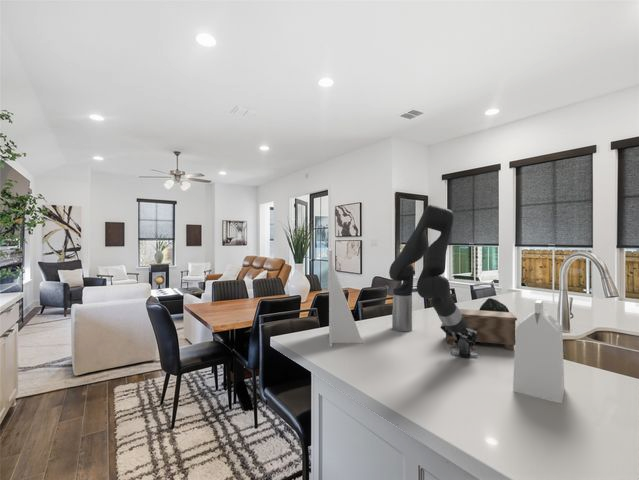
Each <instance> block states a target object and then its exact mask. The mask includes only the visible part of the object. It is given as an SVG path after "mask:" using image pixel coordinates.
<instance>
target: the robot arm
mask: <svg viewBox="0 0 639 480" xmlns="http://www.w3.org/2000/svg"><path fill="white" fill-rule="evenodd" d="M453 223H454V212H453V211H452V210H451V209H448V208H446V207H441V206H439V205H436V204H435V205H434V204H429V205H427V206H426V207H425V209H424V211H423V212H422V215H421V217H420V218H419V221H418V223H417V225H416V226H415V228H414V230H413V231H412V234H411V235H410V236H409V238H408V239H407V241H406V243H405V244H404V246H403V248H402V250H401V251H400V253H399V254H398V256H396V258H395V259H394V260H393V262H391V265H390V267H389V272H388V273H389V278H390V279H391V280H392V281H395V282H402V283H401V284H400V285H398V286H396V287H394V288H393V289H392V310H391V311H392V312H391V316H392V317H391V319H392V321H391V324H392V325H391V327H392V330H394V331H397V332H410V331H412V330H413V290H414V277H415V276H414V272H415V271H414V265H413V264H415V263H416V262H418V261H420V260H421V259H423V257H424V266H423V268H422V271H421V273H420V275H419V277H418V278H417V282H416V291H417V294H418V295H419V297H420V298H423V299H431V305H432V307H433V310H434V311H435V313H436V315H437V316H438V318H439V320H440V321H441V325H440V329H441V330H442V332H444V333H445V335H446V334H447V335H448V336H450V337H452V336H453V338H455V341H456V342H457V343H458V344H459V335H461V336H462V337H463V338H464V339H466V340H467V341H468V343H469V344H470V347H475V345H476V342H477V341H476V339H477V333H478V330H477V329H474V330H472V329H469V327H468V326H467V325H466V321H465V319H464V317H463V315H462V313H461V312H460V310H459V309H460V308H459V307H458V306H457V304H456V303H455V301H454V300H453V296H452V294H451V287H450V282H449V279H448V278H447V277H445V276H443V274H445V272H446V263H447V261H446V260H447V250H448V245H449V241H450V237H451V234H452V229H453V225H454V224H453ZM427 229H431V230H433V231H436V232H440V234H439V236H438V238H436V240H434V242H432V243H431V244H429V243H430V242H429V239H428V236H427V233H426V231H427ZM449 331H450V333H449ZM468 337H469V338H468Z"/></svg>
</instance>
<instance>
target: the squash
mask: <svg viewBox="0 0 639 480" xmlns="http://www.w3.org/2000/svg"><path fill="white" fill-rule="evenodd" d="M479 310H481V311H496V312H510V310H509V309H508V306H506V305H505V304H504V303H502V302H500V301H499V300H497V299H495V298H493V297H489V298H487V299H486V300H485V301H484V302H483V303H482V304H481V305H480V307H479Z"/></svg>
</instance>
